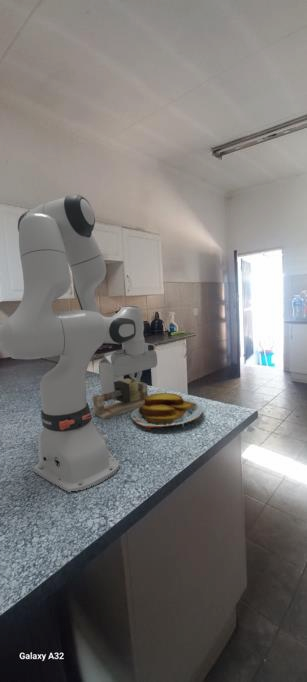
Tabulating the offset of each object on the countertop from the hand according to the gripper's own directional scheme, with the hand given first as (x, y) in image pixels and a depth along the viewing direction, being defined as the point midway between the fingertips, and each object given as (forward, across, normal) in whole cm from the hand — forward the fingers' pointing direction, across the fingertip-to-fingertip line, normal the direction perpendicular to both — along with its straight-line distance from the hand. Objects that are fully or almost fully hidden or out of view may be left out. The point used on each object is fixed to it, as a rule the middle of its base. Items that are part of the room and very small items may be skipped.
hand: (136, 382), depth 115 cm
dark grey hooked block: (+5, -7, 0) cm, 9 cm away
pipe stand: (+8, -7, 0) cm, 11 cm away
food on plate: (+9, -1, -18) cm, 20 cm away
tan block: (+5, -3, 0) cm, 6 cm away
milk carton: (+8, -2, +15) cm, 17 cm away
